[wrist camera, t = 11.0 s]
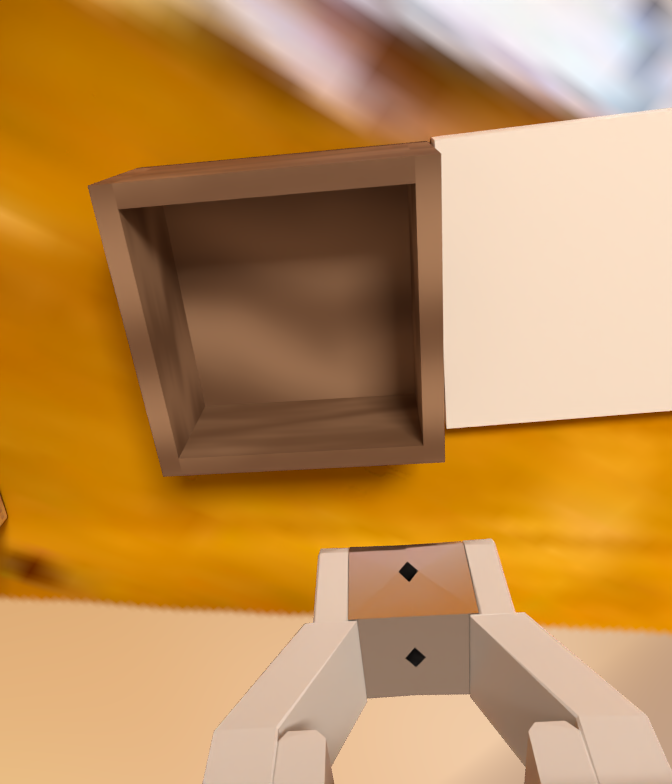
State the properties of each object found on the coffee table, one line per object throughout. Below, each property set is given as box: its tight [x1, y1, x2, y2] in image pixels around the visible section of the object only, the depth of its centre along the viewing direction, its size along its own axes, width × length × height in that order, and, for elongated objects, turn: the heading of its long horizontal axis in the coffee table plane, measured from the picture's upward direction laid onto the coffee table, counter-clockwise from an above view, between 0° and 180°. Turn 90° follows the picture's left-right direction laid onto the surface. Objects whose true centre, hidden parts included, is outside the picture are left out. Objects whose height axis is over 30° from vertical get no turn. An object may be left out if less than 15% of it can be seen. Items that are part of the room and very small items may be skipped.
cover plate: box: [431, 108, 672, 429], centre depth 31 cm, size 15×15×2 cm
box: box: [88, 141, 445, 477], centre depth 29 cm, size 14×14×6 cm
